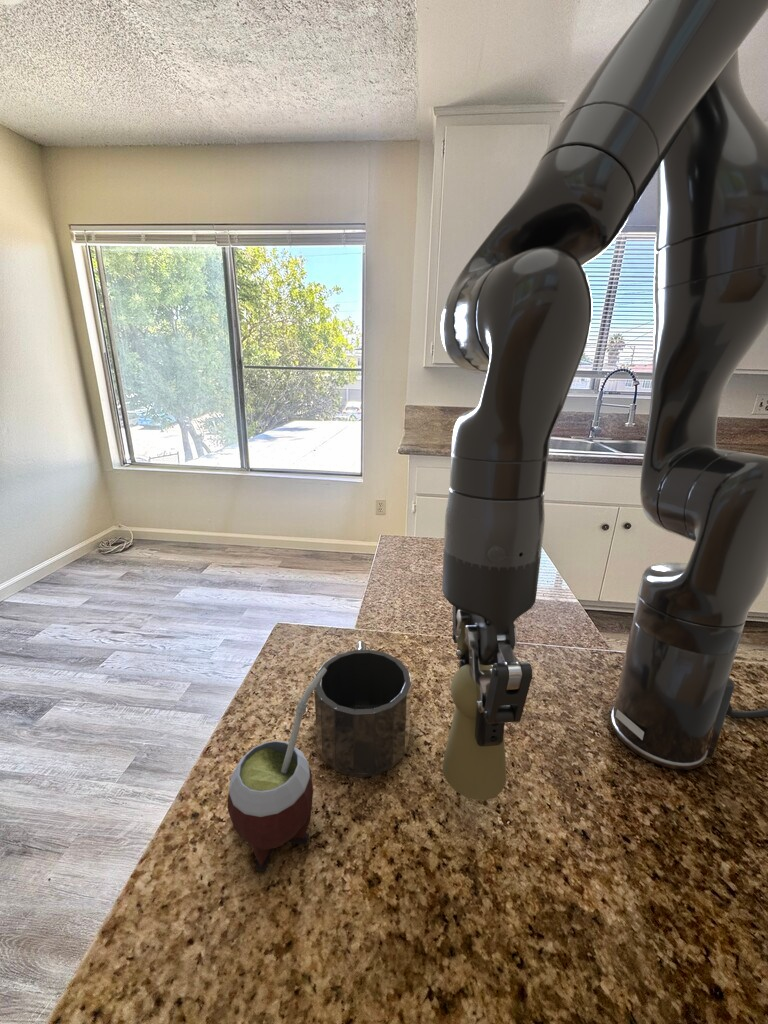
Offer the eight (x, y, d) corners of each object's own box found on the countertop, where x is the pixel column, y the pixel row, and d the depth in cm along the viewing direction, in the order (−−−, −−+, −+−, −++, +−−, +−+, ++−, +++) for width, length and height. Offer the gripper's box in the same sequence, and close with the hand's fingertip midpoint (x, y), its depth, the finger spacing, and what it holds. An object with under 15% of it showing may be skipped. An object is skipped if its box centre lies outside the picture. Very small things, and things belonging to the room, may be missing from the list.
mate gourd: (217, 869, 35) (196, 723, 30) (260, 784, 42) (248, 656, 38) (303, 887, 34) (294, 738, 29) (331, 796, 41) (327, 666, 37)
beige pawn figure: (509, 806, 37) (521, 703, 34) (440, 793, 38) (445, 693, 35) (504, 749, 42) (513, 657, 39) (444, 740, 44) (448, 649, 40)
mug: (414, 774, 43) (417, 711, 41) (313, 780, 43) (310, 716, 40) (399, 682, 57) (401, 631, 54) (322, 685, 56) (320, 633, 54)
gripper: (585, 582, 27) (554, 785, 32) (505, 515, 40) (492, 664, 45) (470, 587, 26) (457, 792, 31) (428, 517, 40) (424, 668, 45)
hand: (478, 715), depth 38 cm, fingers closed on beige pawn figure, 5 cm apart
